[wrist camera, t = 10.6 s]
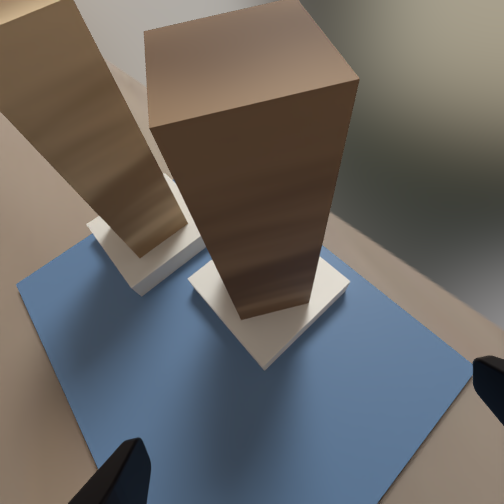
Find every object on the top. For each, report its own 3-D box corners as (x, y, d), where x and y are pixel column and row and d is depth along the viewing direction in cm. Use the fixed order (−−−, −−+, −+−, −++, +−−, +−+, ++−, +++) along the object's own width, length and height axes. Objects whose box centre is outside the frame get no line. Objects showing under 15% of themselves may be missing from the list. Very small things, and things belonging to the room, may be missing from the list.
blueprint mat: (470, 369, 15) (495, 364, 14) (215, 709, 11) (201, 771, 9) (211, 160, 26) (205, 141, 24) (22, 287, 21) (-3, 275, 19)
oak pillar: (188, 223, 20) (71, -4, 9) (139, 258, 19) (-59, 49, 8) (158, 193, 21) (30, -28, 11) (113, 224, 20) (-81, 13, 10)
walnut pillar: (309, 302, 16) (359, 78, 5) (241, 320, 16) (149, 127, 5) (288, 245, 18) (295, -4, 7) (228, 260, 18) (144, 31, 7)
